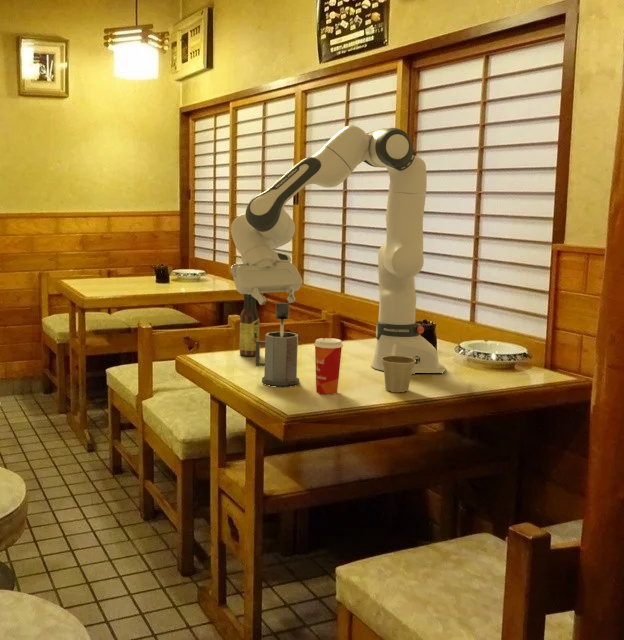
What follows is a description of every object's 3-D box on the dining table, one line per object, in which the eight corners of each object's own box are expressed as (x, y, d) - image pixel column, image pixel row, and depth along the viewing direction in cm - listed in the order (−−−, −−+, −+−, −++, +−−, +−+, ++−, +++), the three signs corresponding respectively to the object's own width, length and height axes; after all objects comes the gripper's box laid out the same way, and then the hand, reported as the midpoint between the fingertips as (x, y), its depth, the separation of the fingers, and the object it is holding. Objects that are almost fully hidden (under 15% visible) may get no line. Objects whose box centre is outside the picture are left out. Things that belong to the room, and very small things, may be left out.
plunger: (292, 364, 221) (294, 302, 218) (291, 369, 215) (292, 305, 212) (271, 363, 221) (272, 301, 218) (269, 368, 215) (270, 304, 212)
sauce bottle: (257, 357, 250) (259, 295, 247) (238, 356, 250) (239, 294, 247) (259, 353, 257) (260, 292, 253) (240, 352, 257) (241, 291, 254)
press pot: (300, 378, 223) (301, 332, 221) (298, 388, 213) (299, 339, 211) (257, 377, 224) (258, 330, 222) (253, 386, 214) (254, 337, 211)
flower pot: (420, 394, 211) (421, 362, 210) (387, 395, 209) (388, 363, 207) (406, 385, 220) (407, 355, 219) (374, 386, 218) (376, 356, 216)
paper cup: (310, 388, 214) (312, 337, 211) (338, 388, 214) (340, 337, 212) (314, 395, 206) (315, 343, 204) (343, 395, 207) (345, 343, 204)
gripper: (232, 257, 215) (249, 297, 209) (294, 255, 227) (313, 293, 220) (224, 271, 219) (241, 311, 213) (285, 269, 231) (303, 307, 225)
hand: (278, 302), depth 217 cm, fingers open, 8 cm apart
